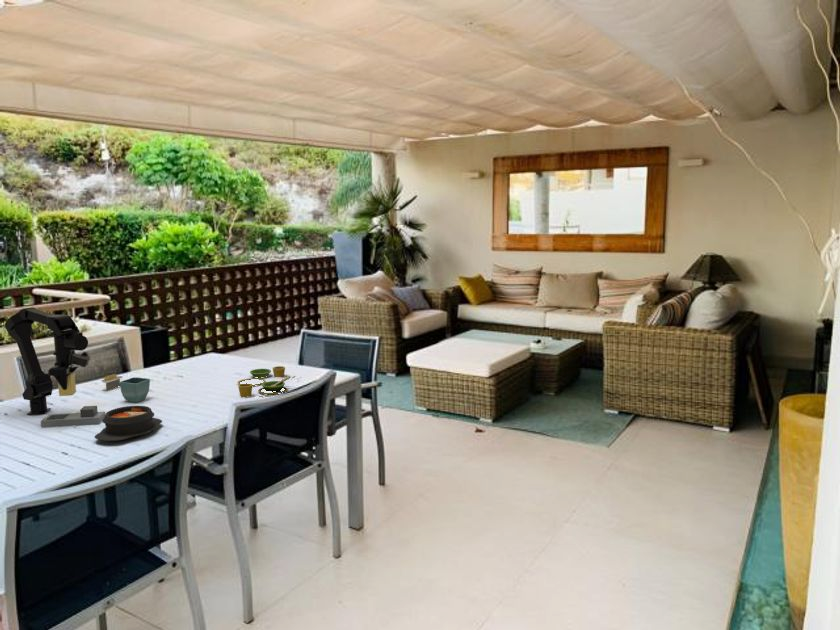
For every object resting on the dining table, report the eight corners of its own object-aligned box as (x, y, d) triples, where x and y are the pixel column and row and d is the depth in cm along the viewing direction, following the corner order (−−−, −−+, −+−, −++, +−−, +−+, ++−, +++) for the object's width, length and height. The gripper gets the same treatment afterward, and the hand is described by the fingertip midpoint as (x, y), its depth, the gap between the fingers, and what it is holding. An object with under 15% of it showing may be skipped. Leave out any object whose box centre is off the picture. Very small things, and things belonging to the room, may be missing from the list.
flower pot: (152, 398, 267) (150, 378, 266) (137, 404, 259) (136, 383, 257) (134, 397, 269) (133, 376, 268) (120, 402, 261) (118, 382, 260)
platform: (85, 393, 276) (84, 379, 275) (116, 383, 293) (115, 369, 292) (107, 396, 272) (106, 381, 271) (137, 385, 289) (136, 371, 288)
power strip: (49, 420, 238) (48, 406, 237) (105, 417, 242) (104, 404, 241) (41, 427, 230) (39, 413, 229) (99, 424, 234) (98, 410, 233)
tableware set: (279, 400, 267) (279, 386, 266) (217, 398, 269) (216, 384, 268) (306, 376, 307) (305, 363, 306) (251, 374, 310) (251, 362, 309)
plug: (63, 392, 241) (61, 368, 240) (76, 392, 242) (74, 368, 241) (59, 396, 237) (57, 371, 235) (72, 395, 238) (70, 371, 236)
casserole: (134, 420, 239) (133, 399, 237) (174, 425, 233) (173, 404, 232) (81, 442, 215) (79, 419, 214) (124, 448, 209) (122, 425, 208)
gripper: (79, 352, 229) (82, 393, 232) (93, 342, 247) (96, 380, 250) (45, 353, 227) (49, 395, 229) (62, 343, 245) (66, 382, 247)
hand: (67, 388), depth 239 cm, fingers closed on plug, 5 cm apart
